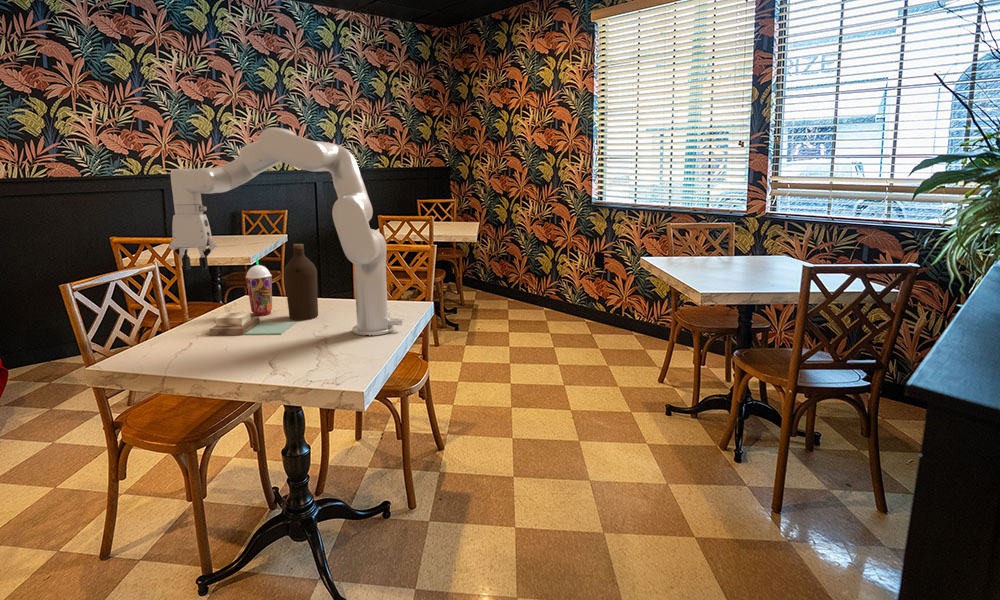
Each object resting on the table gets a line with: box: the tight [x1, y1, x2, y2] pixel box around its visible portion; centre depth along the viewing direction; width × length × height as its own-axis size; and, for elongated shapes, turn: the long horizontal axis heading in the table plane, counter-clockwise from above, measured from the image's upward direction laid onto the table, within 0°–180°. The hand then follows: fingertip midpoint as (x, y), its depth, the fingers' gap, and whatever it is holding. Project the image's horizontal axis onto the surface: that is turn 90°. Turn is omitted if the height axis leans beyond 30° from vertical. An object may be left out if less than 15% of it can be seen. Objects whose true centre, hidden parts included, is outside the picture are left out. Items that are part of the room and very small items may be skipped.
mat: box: [244, 321, 296, 336], centre depth 189 cm, size 11×14×1 cm
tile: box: [215, 312, 252, 326], centre depth 188 cm, size 8×7×2 cm
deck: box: [209, 316, 261, 336], centre depth 189 cm, size 10×14×2 cm
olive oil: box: [283, 243, 319, 321], centre depth 201 cm, size 11×11×25 cm
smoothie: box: [245, 256, 273, 317], centre depth 206 cm, size 8×8×20 cm
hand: (195, 269), depth 184 cm, fingers open, 4 cm apart
